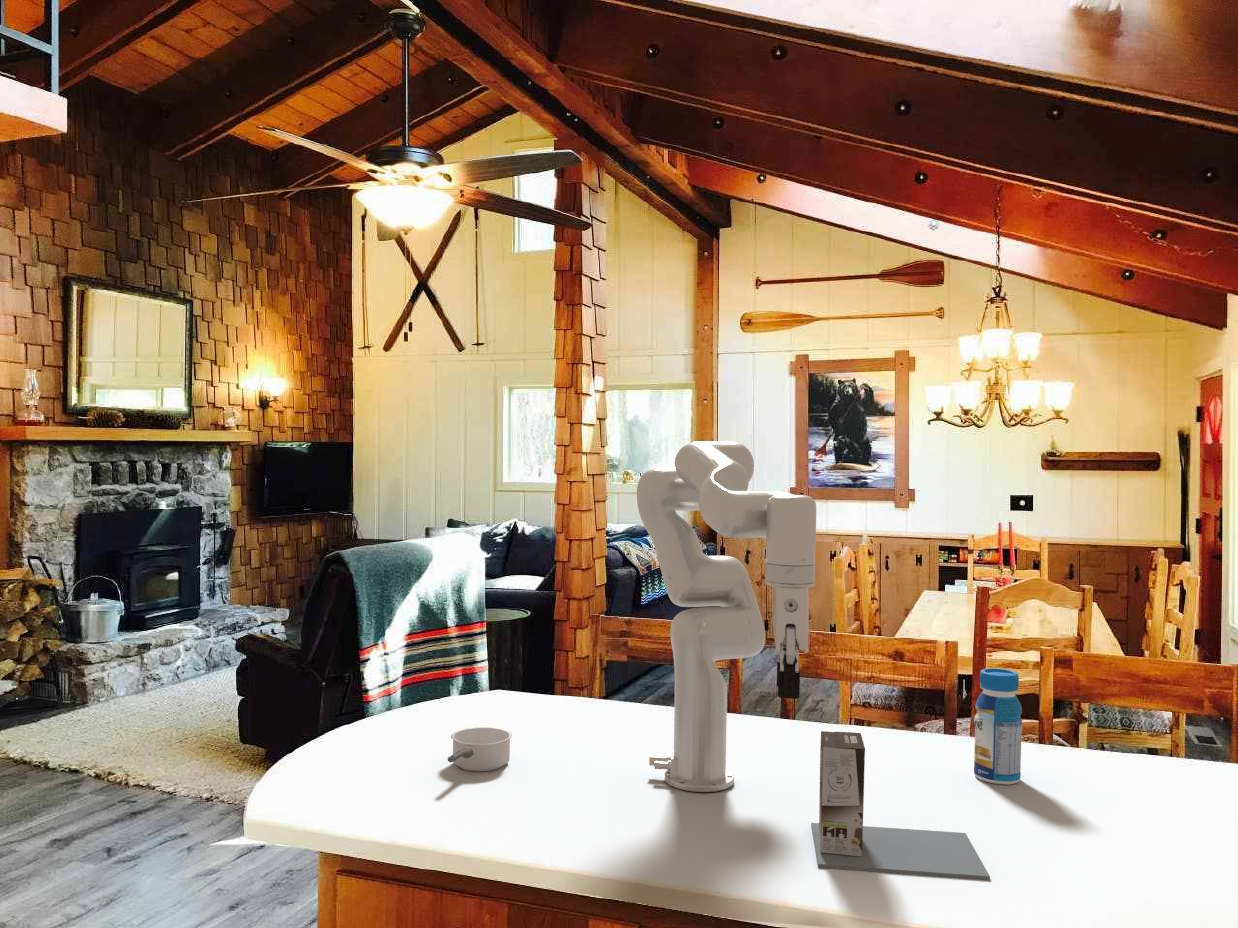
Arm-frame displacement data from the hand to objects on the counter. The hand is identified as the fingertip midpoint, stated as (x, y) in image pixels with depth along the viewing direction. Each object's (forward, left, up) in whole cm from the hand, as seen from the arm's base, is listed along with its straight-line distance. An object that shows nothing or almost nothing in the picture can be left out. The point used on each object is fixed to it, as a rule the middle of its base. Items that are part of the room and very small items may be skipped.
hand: (787, 691), depth 150 cm
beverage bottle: (+41, +38, -24) cm, 60 cm away
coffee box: (+8, 0, -23) cm, 25 cm away
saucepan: (-57, +24, -24) cm, 66 cm away
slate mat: (+17, 0, -24) cm, 29 cm away
